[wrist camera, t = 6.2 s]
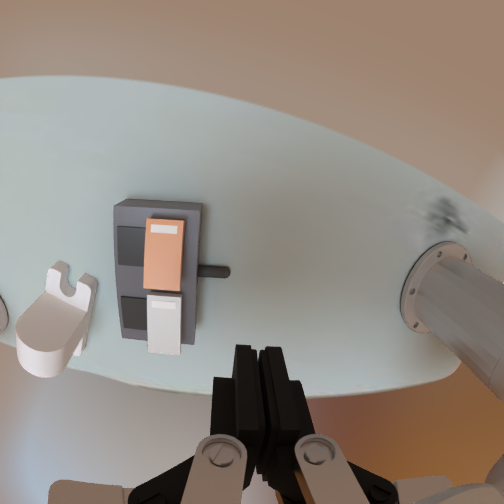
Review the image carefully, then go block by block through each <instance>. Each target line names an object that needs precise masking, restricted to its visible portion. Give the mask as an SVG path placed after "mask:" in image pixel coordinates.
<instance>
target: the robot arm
mask: <svg viewBox="0 0 504 504" xmlns="http://www.w3.org/2000/svg"><path fill="white" fill-rule="evenodd" d="M401 314H402V317H403V320H404V322H405V323H406V324H407V326H408V327H410V328H411V329H412V330H413V331H415V332H417V333H429V332H432V333H434V334H435V335H436V336H437V337H438V338H439V339H440V340H441V341H442V342H443V343H444V344H445V345H446V346H447V347H448V348H449V349H450V350H451V351H452V352H453V353H454V354H455V355H456V356H457V357H458V358H459V359H460V360H461V361H462V362H463V363H464V364H465V365H466V366H467V367H468V368H469V369H470V370H471V371H472V372H473V373H474V374H475V375H476V376H477V377H478V378H479V380H480V381H481V382H482V383H483V384H484V385H485V386H486V387H487V388H488V389H489V390H490V391H491V392H492V393H493V394H494V395H495V396H496V397H497V398H498V399H499V400H501V401H502V402H504V284H503V283H501V282H499V281H498V280H496V279H494V278H493V277H491V276H489V275H488V274H486V273H484V272H483V271H481V270H479V269H477V268H476V267H474V266H472V263H471V258H470V256H469V253H468V252H467V250H466V249H465V248H464V247H462V246H461V245H459V244H457V243H454V242H442V243H440V244H438V245H435V246H434V247H432V248H431V249H429V250H428V251H427V252H426V253H425V254H424V255H423V256H422V257H421V258H420V259H419V260H418V262H417V263H416V264H415V266H414V267H413V269H412V271H411V272H410V274H409V276H408V278H407V280H406V283H405V286H404V289H403V292H402V297H401ZM255 466H256V471H257V474H262V479H263V481H268V485H269V486H270V487H272V488H273V489H275V493H276V498H277V501H278V504H504V454H503V455H502V456H501V457H500V458H499V459H498V460H497V462H496V463H495V464H494V465H493V467H492V468H491V470H490V471H489V473H488V475H487V477H486V479H485V482H484V483H471V484H465V485H460V486H457V487H454V488H453V485H452V483H451V481H450V480H449V479H448V478H447V477H445V476H443V475H434V476H427V477H419V478H411V479H400V480H396V481H395V482H390V481H388V480H386V479H384V478H382V477H380V476H378V475H375V474H373V473H371V472H369V471H367V470H365V469H362V468H361V467H359V466H357V465H355V464H353V463H351V462H348V461H347V460H346V459H345V457H344V455H343V453H342V451H341V450H340V448H339V446H338V445H337V443H336V442H335V441H334V440H332V439H331V438H330V437H327V436H325V435H320V434H315V430H314V427H313V423H312V420H311V416H310V412H309V409H308V406H307V402H306V398H305V395H304V391H303V388H302V384H301V382H300V381H299V380H289V377H288V373H287V369H286V365H285V361H284V356H283V352H282V349H281V347H270V346H266V348H265V350H260V353H259V358H258V359H257V351H256V350H255V349H251V345H237V344H236V348H235V356H234V365H233V373H232V378H222V377H214V380H213V395H212V410H211V428H210V436H209V437H206V438H204V439H203V440H202V441H201V442H200V443H199V445H198V447H197V449H196V453H195V455H194V456H192V457H190V458H189V459H187V460H185V461H184V462H182V463H180V464H179V465H177V466H175V467H173V468H171V469H170V470H168V471H166V472H164V473H162V474H161V475H159V476H157V477H155V478H153V479H151V480H149V481H148V482H145V483H144V484H141V485H139V486H137V487H136V488H122V486H117V485H104V484H103V485H102V484H94V483H86V482H78V481H72V480H58V481H56V482H54V483H53V484H52V485H51V486H50V489H49V495H48V504H241V497H242V491H243V490H244V489H245V488H247V487H248V486H249V485H250V482H251V479H252V475H253V472H254V469H255Z"/></svg>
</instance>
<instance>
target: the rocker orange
mask: <svg viewBox="0 0 504 504" xmlns="http://www.w3.org/2000/svg"><path fill="white" fill-rule="evenodd" d="M184 226H185V221H181V220H166V219H150V218H146V233H145V251H144V281H143V288H146V289H158V290H170V291H180V289H181V274H182V255H183V240H184Z"/></svg>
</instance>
